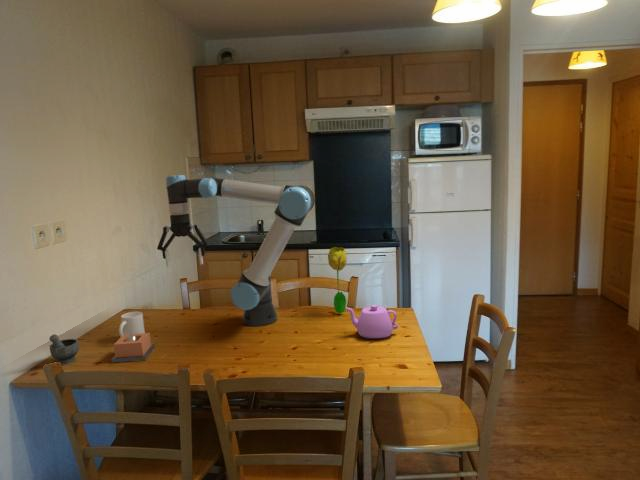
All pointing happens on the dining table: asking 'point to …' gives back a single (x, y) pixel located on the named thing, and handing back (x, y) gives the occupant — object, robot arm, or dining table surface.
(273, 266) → the robot arm
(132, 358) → the block
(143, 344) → the terracotta brick slab
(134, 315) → the mug
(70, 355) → the mortar and pestle
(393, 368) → the dining table surface
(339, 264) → the flower
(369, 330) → the teapot
